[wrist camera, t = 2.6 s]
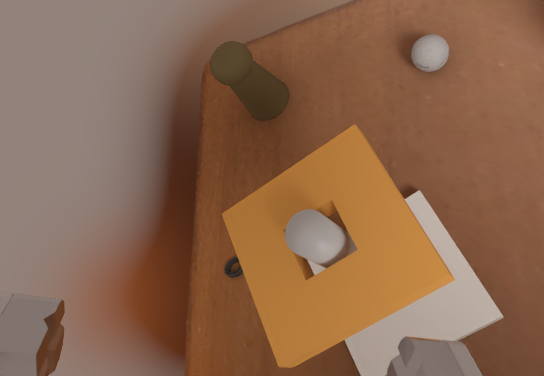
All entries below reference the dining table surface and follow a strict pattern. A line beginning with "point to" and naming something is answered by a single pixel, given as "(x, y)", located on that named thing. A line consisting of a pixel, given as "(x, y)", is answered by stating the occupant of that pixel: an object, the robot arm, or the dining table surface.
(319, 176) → the collar
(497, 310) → the post stand
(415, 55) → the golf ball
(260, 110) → the olive green game pawn
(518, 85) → the dining table surface
